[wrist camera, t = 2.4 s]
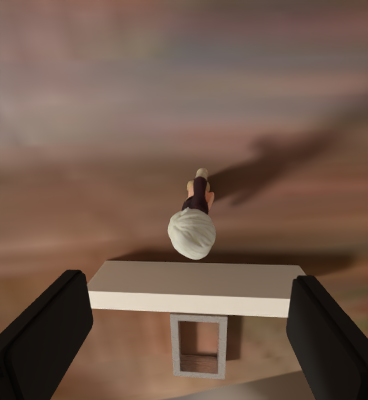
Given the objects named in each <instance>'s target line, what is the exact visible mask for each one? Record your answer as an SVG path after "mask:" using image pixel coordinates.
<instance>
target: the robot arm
mask: <svg viewBox="0 0 368 400" xmlns="http://www.w3.org/2000/svg"><path fill="white" fill-rule="evenodd" d="M92 325H93V315H92V309H91V304H90V298H89V293H88V287H87V282H86V276H85V274H84V273H82V271H81V270H66V271H65V272H64V273H63V274H62V275H61V276H60V277H59V278H58V279H57V280H56V281H55V282H54V283H52V284H51V285H50V286H49V287H48V288H47V289H46V290H45V291H44V292H43V293H42V294H41V295H40V296H39V297H38V298H37V299H36V300H35V301H34V302H33V303H32V304H31V305H30V306H29V307H28V308H26V309H25V310H24V311H23V312H22V313H21V314H20V315H19V316H18V317H17V318H16V319H15V320H14V321H13V322H12V323H11V324H10V325H9V326H8V327H7V328H6V329H5V330H4V331H3V332H2V333H0V400H50V399H51V397H52V395H53V394H54V392H55V390H56V388H57V387H58V385H59V383H60V382H61V380H62V378H63V376H64V375H65V373H66V371H67V370H68V368H69V366H70V364H71V363H72V361H73V359H74V358H75V356H76V354H77V352H78V351H79V349H80V347H81V345H82V344H83V342H84V340H85V339H86V337H87V335H88V333H89V332H90V330H91V328H92ZM286 332H287V336H288V339H289V341H290V344H291V346H292V348H293V350H294V352H295V355H296V357H297V359H298V361H299V364H300V366H301V368H302V370H303V373H304V374H305V377H306V379H307V381H308V384H309V386H310V388H311V390H312V393H313V394H314V397H315V399H316V400H368V338H367V337H366V336H365V335H364V334H363V333H362V331H361V330H360V329H359V328H358V327H357V325H356V324H355V323H354V322H353V321H352V320H351V318H350V317H349V316H348V315H347V314H346V313H345V312H344V311H343V310H342V308H341V307H340V306H339V305H338V304H337V302H336V301H335V300H334V299H333V298H332V297H331V295H330V294H329V293H328V292H327V291H326V289H325V288H324V287H323V286H322V285H321V284H320V282H319V281H318V280H317V279H316V278H315V277H314V276H311V275H298V276H297V279H293V282H292V289H291V296H290V304H289V311H288V318H287V326H286Z"/></svg>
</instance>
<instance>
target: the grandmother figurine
mask: <svg viewBox="0 0 368 400" xmlns="http://www.w3.org/2000/svg"><path fill="white" fill-rule="evenodd" d="M207 176H208V171H207V170H206V169H205V168H200V169H199V170H198V171H197V176H196V178H195V179H194V180H191V181H189V182H188V184H187V190H188V191H189V196H188V198H187V199H186V200H185V202H184V205H183V207H182V211H180V212H177V213H176V214H175V215H173V216H172V218H171V220H170V224H169V226H168V233H169V236H170V238H171V241H172V244H173V246H174V248H175V249H176V250H177V251H178V252H179V253H181V254H182V255H184V256H186V257H188V258H191V259H195V260H198V259H201V258H203V257H205V256H207V254H208V253H209V251H210V250H211V247H212V245H213V244H214V242H215V237H216V231H215V230H216V229H215V227H214V225H213V223H212V220H211V218H210V217H209V216H208V211H209V209H210V208H211V205H212V203H213V201H214V193H213V192H209V191H210V185H209V183H208V182H207Z"/></svg>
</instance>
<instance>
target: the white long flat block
mask: <svg viewBox="0 0 368 400" xmlns="http://www.w3.org/2000/svg"><path fill="white" fill-rule="evenodd" d="M298 275H306V274H305V273H304V272H303V270H302V269H301V268H300V266H299V265H262V264H223V263H184V262H144V261H105V262H104V264H103V265H102V266H101V267H100V269H99V270H98V271H97V273H96V274H95V275H94V276H93V278H92V279H91V280H90V282H89V283H88V284H87V287H88V293H89V298H90V304H91V308H97V309H119V310H140V311H161V312H183V313H204V314H225V315H247V316H268V317H288V311H289V304H290V296H291V289H292V282H293V279H297V276H298Z"/></svg>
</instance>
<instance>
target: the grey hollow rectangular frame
mask: <svg viewBox="0 0 368 400" xmlns="http://www.w3.org/2000/svg"><path fill="white" fill-rule="evenodd" d="M180 321H196V322H216V323H218V334H217V357H214V356H198V355H183V354H182V352H181V327H180ZM170 322H171V339H172V356H173V373H174V376H186V377H200V378H213V379H225V363H226V340H227V315H225V314H204V313H183V312H170Z"/></svg>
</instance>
